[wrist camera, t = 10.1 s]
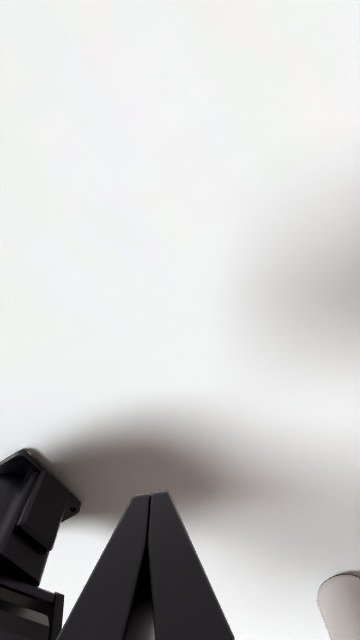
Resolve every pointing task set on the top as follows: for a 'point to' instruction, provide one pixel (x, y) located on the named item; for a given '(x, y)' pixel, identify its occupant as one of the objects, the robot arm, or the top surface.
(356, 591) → the beverage can
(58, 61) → the top surface
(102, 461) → the top surface
